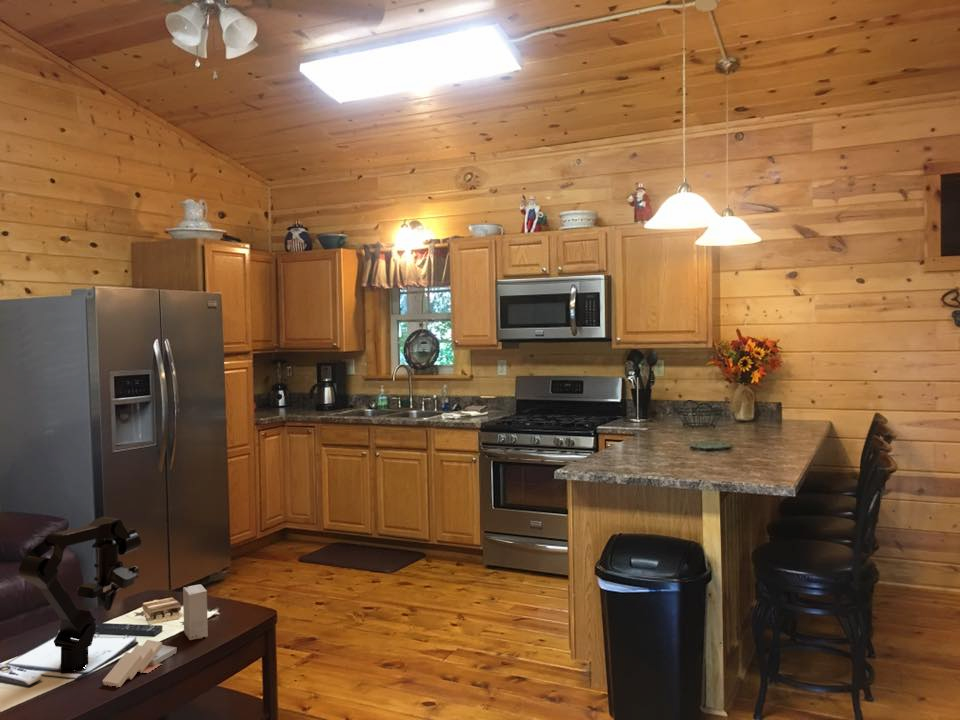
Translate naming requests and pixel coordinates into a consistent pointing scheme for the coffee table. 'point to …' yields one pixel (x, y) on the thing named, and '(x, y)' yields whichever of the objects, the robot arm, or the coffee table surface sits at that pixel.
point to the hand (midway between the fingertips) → (108, 610)
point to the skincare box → (195, 612)
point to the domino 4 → (163, 654)
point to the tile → (150, 668)
